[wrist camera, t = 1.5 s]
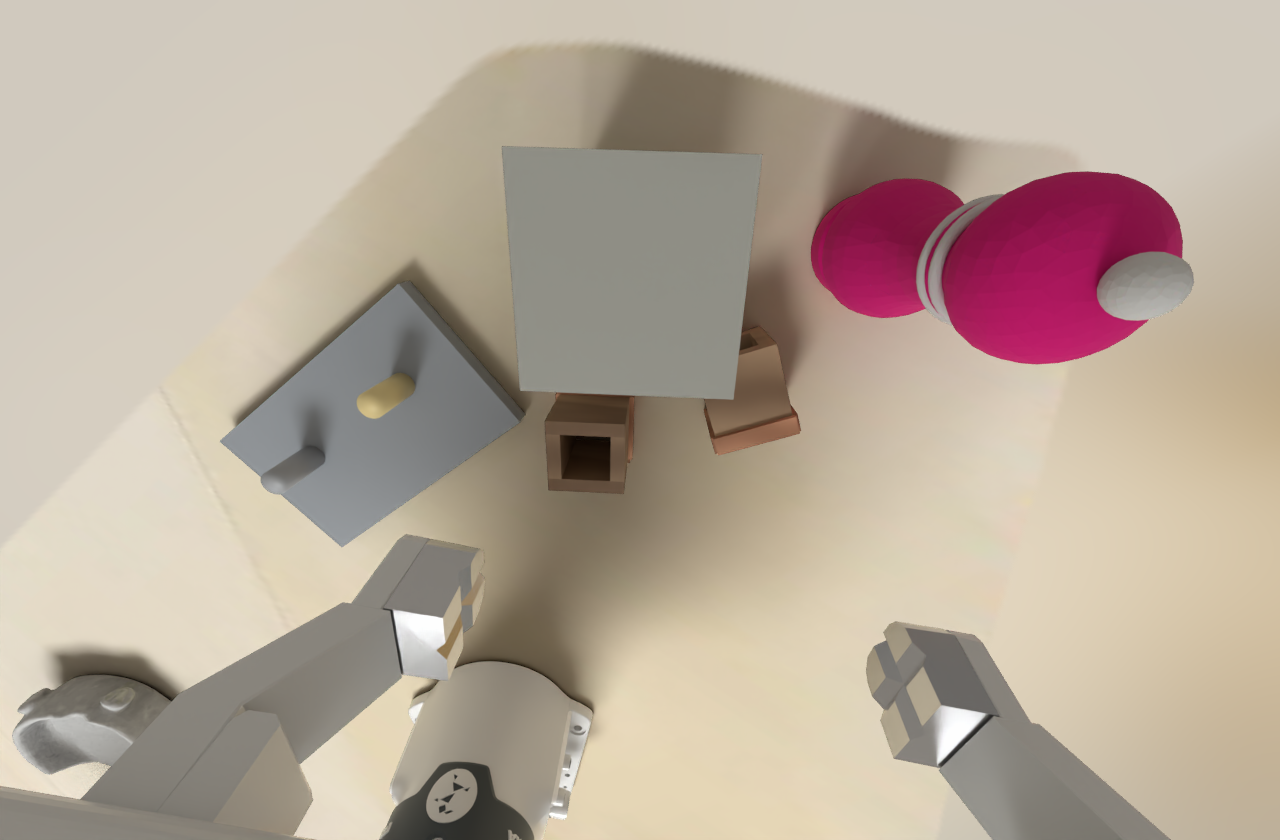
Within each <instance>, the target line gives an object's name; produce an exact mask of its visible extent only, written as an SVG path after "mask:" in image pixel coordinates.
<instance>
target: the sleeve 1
mask: <svg viewBox="0 0 1280 840" xmlns="http://www.w3.org/2000/svg"><path fill="white" fill-rule="evenodd" d="M555 396H556V402H555V404H554V405H553V407H552V409H551V411H550V413H549V414H548V416H547V418H546V420H545V435H546V453H547V472H548V490H554V491H575V492H597V493H619V494H624V488H625V480H626V471H627V463H630V460H632V454H633V425H634V396H632V395H608V394H584V393H560V392H556V394H555ZM576 436H597V437H611V441H600V440H577V439H576Z"/></svg>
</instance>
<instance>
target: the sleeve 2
mask: <svg viewBox="0 0 1280 840" xmlns="http://www.w3.org/2000/svg"><path fill="white" fill-rule="evenodd" d="M704 401H705V404H706V407H707V408H706V409H704V413H705V417H706V421H707V425H708V429H709V433H710V438H711V441H712V444H713V448H714V451H715V454H717V453H718V455H722V454H726V453H729V452H733V451H737V450H740V449H744V448H748V447H752V446H755V445H759V444H763V443H766V442H770V441H774V440H778V439H781V438H785V437H789V436H792V435H796V434H800V431H801V429H800V424H799V419H798V415H797V413H796V412H795V410H794V409H793V407H792V406H791V405H790V401H789V397H788V392H787V388H786V383H785V378H784V374H783V369H782V365H781V360H780V356H779V351H778V347H777V344H776V342H775V341H774V340H773V339H772V338H771V337H770V336H769V335H768V334H767V333H766V332H765V331H764V330H763V329H762V328H761V327H760V326H759V327H756V328H753V329H749V330H746V331H743V332H741V340H740V348H739V357H738V365H737V374H736V382H735V390H734V399H733V400H729V399H705V398H704Z"/></svg>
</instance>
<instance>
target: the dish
mask: <svg viewBox="0 0 1280 840" xmlns="http://www.w3.org/2000/svg"><path fill="white" fill-rule="evenodd" d="M170 703H171V701H170V700H168V699H167V698H166V697H164V696H163V695H162V694H160V693H159V692H157V691H156V690H154V689H152V688H151V687H149V686H147V685H145V684H142V683H140V682H137V681H135V680H131V679H128V678H124V677H119V676H112V675H86V676H79V677H76V678H73V679H71V680H69V681H67V682H66V683H64V684H63V685H61V686H60V687H58V688H57V689H55V690H50V689H48V688H45V689H42V690H40V691H39V692H37V693H35V694H33V695H32V696H31V697H30V698H29V699H27V700H26V701H25V702H24V703H23V704H22V705H21V706H20V707H19V708H18V713H22V714H24V717H23V718H22V719H21V721H20V722H19V723H18V724H17V726H16V727H15V729H14V731H13V735H12V737H13V742H14V744H15V745H16V747H17V750H18V751H19V752H20V753H21V755H22V756H23V757H24V758H25V759H26V760H27V761H28V762H29V763H31V764H32V765H33V766H35V767H36V768H38V769H39V770H40V771H42V772H43V773H45V774H49V775H50V774H54V773H56V772H59V771H61V770H64V769H66V768H69V767H72V766H76V765H79V764H83V763H90V762H100V763H102V764H106V765H109V766H112V765H113V764H114V763H115V762H116V761H117V760H118V759H119V758H120V756H121V755H122V754H123V753H124V752H125V751H126V750H127V749H128V748H129V747H130V746H131V745H132V744H133V742H134V741H135V740H136V739H137V738H138V737H139V736H140V735H141V734H142V733H143V732H144V731H145V730H146V729H147V727H148V726H149V725H150V724H151V723H152V722H153V721H154V720H155V719H156V718H157V717H158V716H159V715H160V714H161V712H162V711H163V710H164V709H165V708H166V707H167V706H168V705H169V704H170Z"/></svg>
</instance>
